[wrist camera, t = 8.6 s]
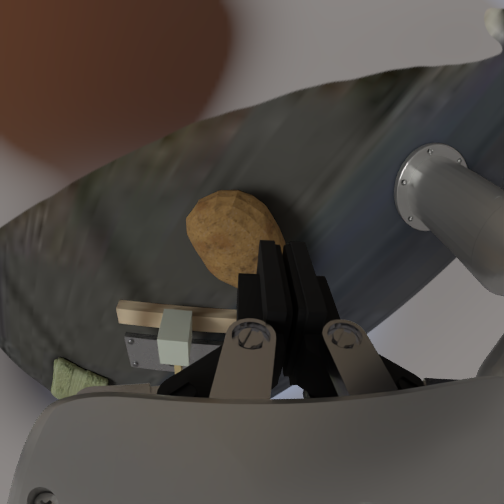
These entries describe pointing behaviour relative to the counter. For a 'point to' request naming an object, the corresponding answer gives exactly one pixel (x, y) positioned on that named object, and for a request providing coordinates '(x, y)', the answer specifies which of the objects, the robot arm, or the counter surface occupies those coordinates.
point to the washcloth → (72, 379)
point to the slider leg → (175, 338)
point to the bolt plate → (147, 353)
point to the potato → (231, 232)
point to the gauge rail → (153, 312)
